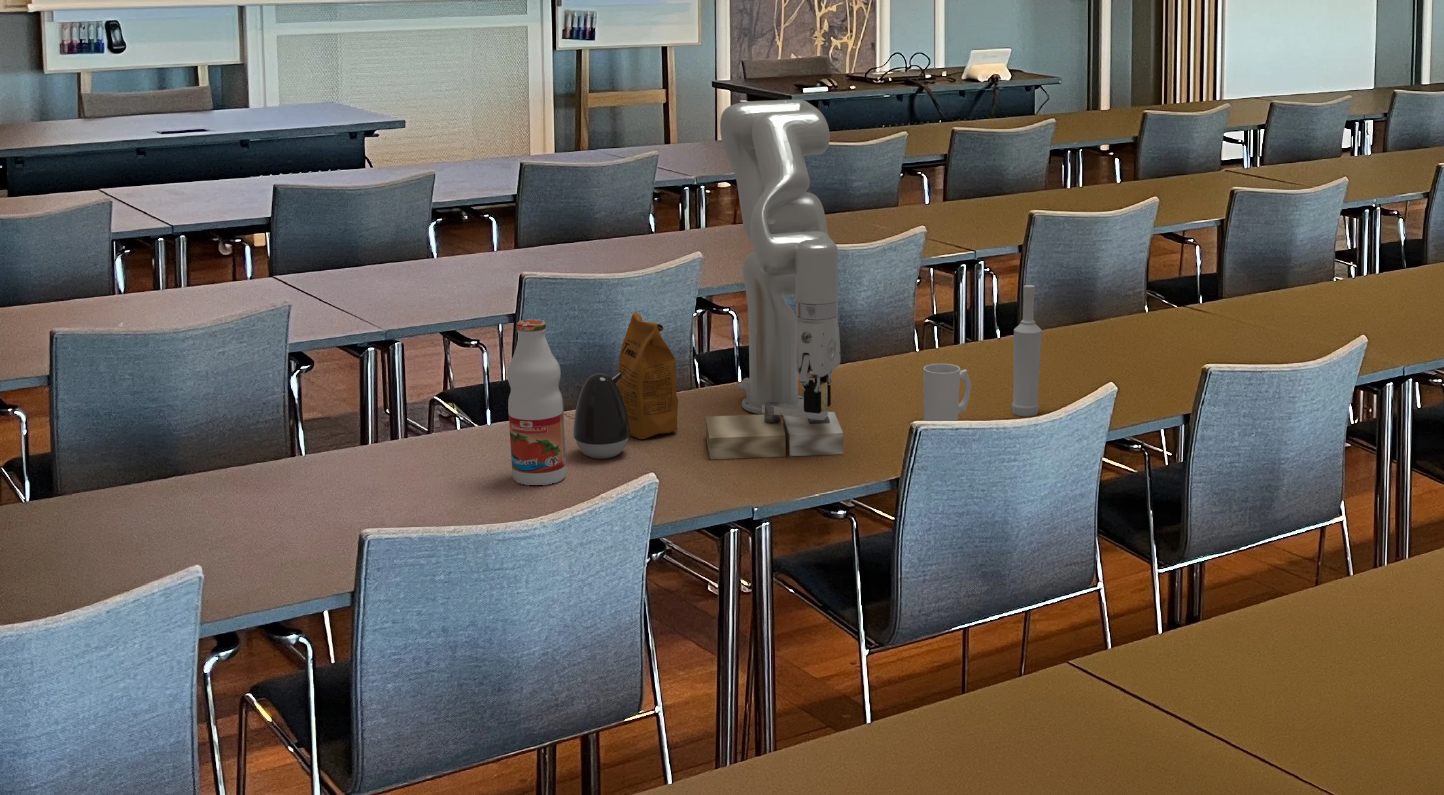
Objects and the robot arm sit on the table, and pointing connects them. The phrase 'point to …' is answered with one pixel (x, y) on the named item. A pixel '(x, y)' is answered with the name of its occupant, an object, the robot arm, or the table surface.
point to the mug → (944, 392)
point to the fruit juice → (535, 409)
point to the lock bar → (795, 408)
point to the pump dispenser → (601, 418)
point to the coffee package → (648, 380)
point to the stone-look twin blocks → (772, 436)
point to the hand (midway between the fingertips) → (817, 408)
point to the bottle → (1026, 359)
